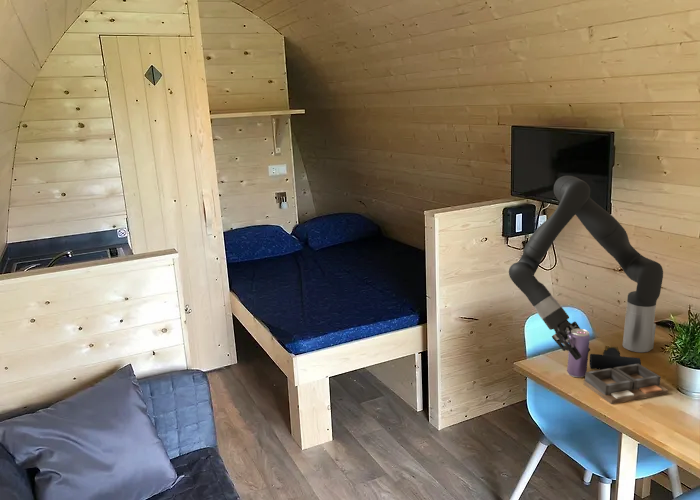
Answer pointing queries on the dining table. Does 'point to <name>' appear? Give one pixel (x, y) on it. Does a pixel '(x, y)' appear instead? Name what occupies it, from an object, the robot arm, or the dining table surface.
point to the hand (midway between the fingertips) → (583, 355)
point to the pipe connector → (611, 359)
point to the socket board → (624, 383)
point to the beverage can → (582, 345)
